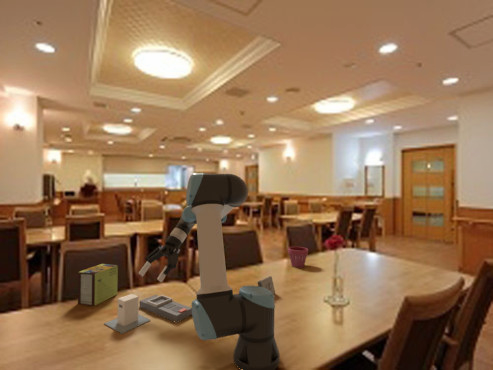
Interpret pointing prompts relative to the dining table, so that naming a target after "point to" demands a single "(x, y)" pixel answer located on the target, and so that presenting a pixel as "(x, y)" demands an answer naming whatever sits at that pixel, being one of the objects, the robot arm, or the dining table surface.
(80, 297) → the protein box
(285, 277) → the dining table surface
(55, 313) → the dining table surface
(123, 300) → the charger
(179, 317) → the power strip
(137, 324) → the mat
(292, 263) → the plant pot
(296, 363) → the dining table surface
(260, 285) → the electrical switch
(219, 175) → the robot arm
